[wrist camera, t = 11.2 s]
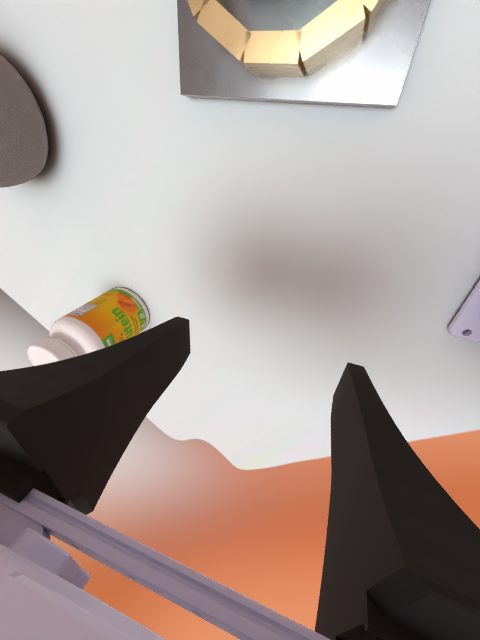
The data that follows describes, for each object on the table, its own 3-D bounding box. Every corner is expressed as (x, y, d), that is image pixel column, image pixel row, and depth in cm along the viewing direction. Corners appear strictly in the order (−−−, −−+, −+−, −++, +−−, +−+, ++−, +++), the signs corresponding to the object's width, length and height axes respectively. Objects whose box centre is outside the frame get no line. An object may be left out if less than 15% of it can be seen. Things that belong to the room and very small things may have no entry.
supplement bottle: (158, 328, 28) (87, 393, 20) (123, 330, 30) (47, 389, 23) (136, 283, 26) (47, 337, 18) (100, 289, 28) (7, 339, 20)
